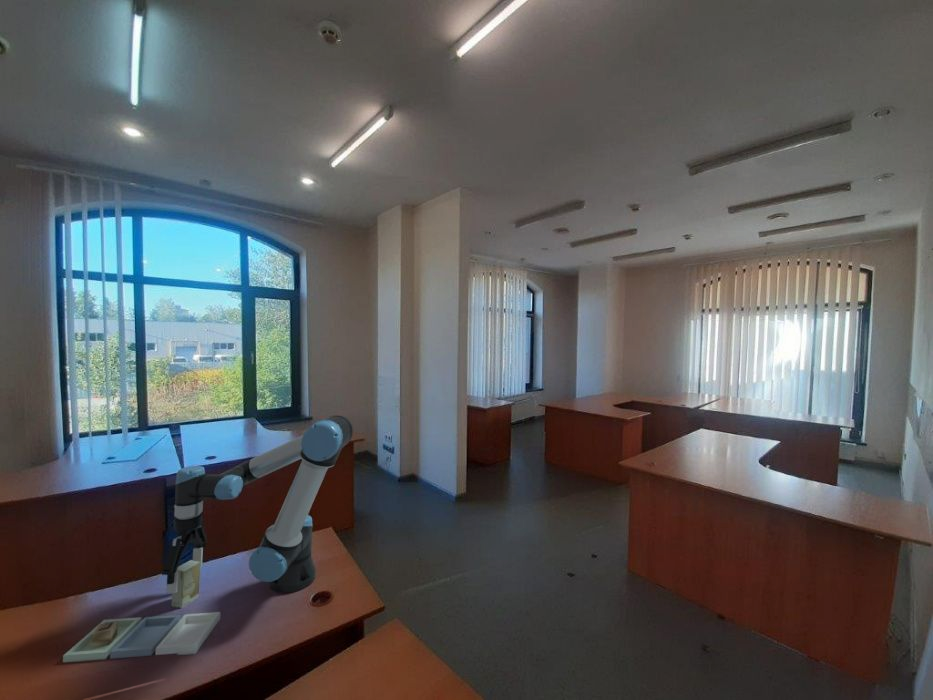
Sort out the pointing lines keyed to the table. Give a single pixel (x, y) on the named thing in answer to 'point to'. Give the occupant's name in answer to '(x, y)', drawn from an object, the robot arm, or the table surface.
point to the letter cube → (104, 634)
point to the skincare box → (187, 584)
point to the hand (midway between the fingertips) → (185, 579)
